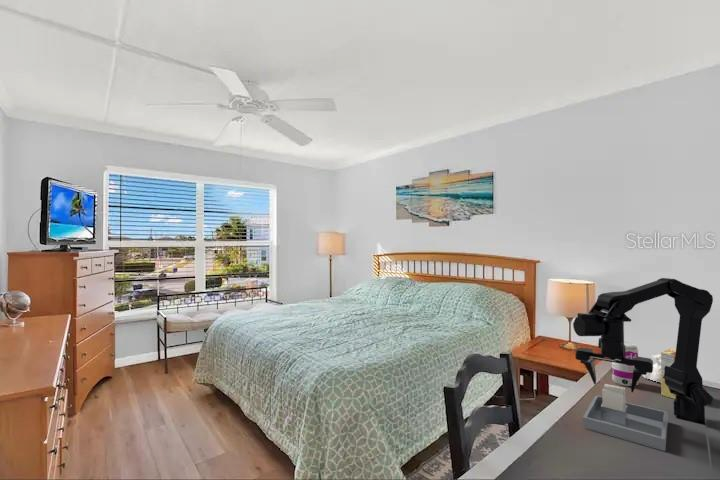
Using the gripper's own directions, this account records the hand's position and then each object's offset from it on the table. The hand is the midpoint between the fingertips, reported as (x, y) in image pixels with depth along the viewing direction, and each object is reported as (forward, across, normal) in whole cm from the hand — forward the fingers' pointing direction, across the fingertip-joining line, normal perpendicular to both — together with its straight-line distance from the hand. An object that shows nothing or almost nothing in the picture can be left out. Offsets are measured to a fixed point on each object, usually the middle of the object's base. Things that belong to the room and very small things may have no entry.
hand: (613, 387), depth 108 cm
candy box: (+10, -13, -36) cm, 40 cm away
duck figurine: (+10, -9, -49) cm, 51 cm away
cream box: (+5, 0, 0) cm, 5 cm away
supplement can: (+10, +1, -38) cm, 39 cm away
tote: (+10, -3, +2) cm, 10 cm away
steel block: (+9, 0, 0) cm, 9 cm away
